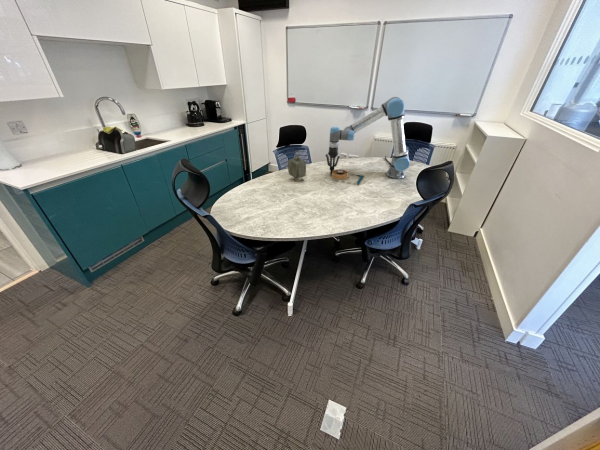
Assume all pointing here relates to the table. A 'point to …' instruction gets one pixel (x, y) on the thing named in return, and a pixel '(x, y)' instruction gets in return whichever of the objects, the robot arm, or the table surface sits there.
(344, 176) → the bowl
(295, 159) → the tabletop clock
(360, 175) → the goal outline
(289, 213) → the table surface
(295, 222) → the table surface
